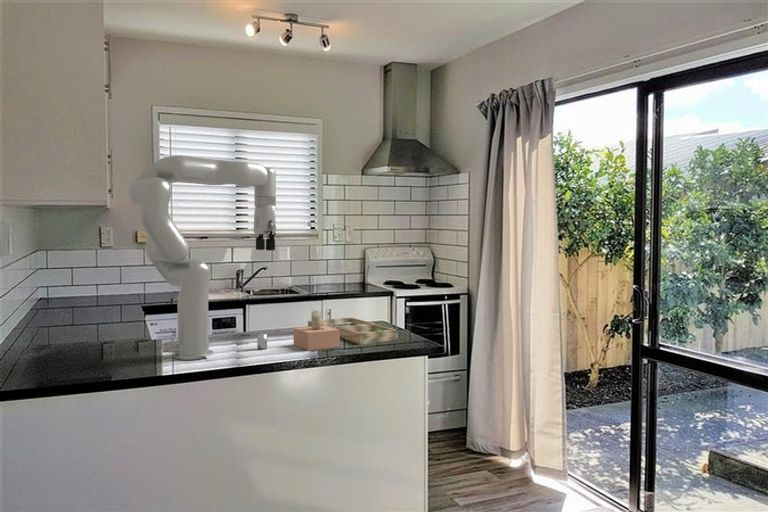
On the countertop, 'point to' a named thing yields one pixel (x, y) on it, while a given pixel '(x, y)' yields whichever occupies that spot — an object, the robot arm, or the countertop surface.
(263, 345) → the short pin
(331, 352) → the countertop surface
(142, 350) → the countertop surface
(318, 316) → the long pin
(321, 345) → the hole block
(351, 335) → the organiser frame
